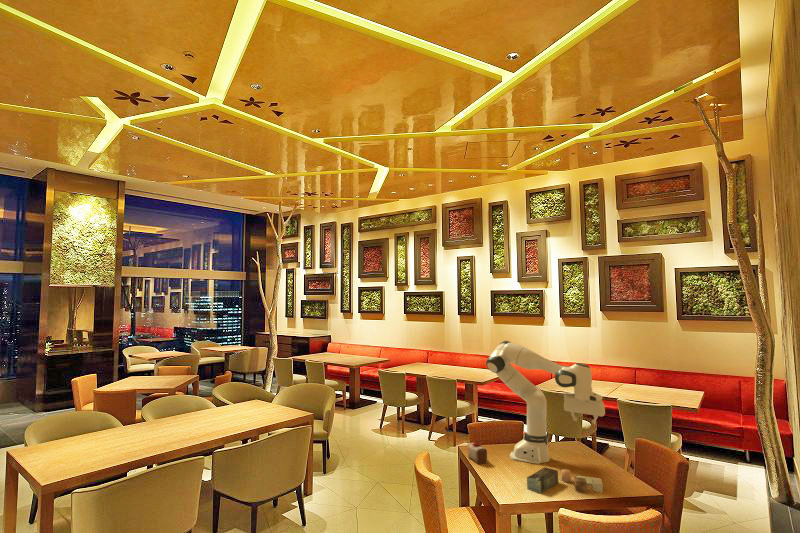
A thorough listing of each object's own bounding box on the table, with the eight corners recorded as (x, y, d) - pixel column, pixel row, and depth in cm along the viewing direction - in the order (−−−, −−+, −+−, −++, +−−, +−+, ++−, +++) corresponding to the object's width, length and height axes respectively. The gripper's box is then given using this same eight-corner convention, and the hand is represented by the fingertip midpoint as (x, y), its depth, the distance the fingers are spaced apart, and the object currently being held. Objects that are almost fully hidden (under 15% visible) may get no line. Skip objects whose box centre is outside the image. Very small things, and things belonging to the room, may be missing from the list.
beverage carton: (526, 489, 220) (525, 475, 221) (544, 478, 234) (544, 465, 235) (541, 494, 215) (541, 479, 216) (559, 483, 229) (558, 469, 229)
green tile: (577, 483, 228) (577, 481, 228) (576, 476, 237) (576, 475, 237) (597, 485, 226) (597, 484, 226) (594, 478, 234) (594, 477, 234)
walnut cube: (575, 491, 218) (575, 480, 218) (574, 487, 223) (574, 477, 223) (586, 492, 217) (586, 482, 217) (585, 488, 221) (585, 478, 222)
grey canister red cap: (465, 457, 265) (465, 439, 266) (477, 455, 268) (477, 438, 269) (477, 465, 253) (477, 447, 253) (489, 463, 255) (489, 445, 256)
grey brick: (603, 493, 217) (602, 484, 217) (594, 492, 218) (593, 483, 218) (600, 486, 225) (600, 478, 225) (592, 485, 226) (591, 477, 226)
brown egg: (561, 482, 230) (561, 471, 230) (561, 478, 234) (561, 468, 234) (571, 483, 228) (570, 472, 229) (570, 479, 233) (570, 469, 233)
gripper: (561, 393, 240) (562, 420, 238) (601, 398, 226) (602, 427, 225) (566, 391, 244) (566, 418, 243) (605, 396, 231) (606, 424, 229)
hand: (584, 422), depth 234 cm, fingers open, 8 cm apart
